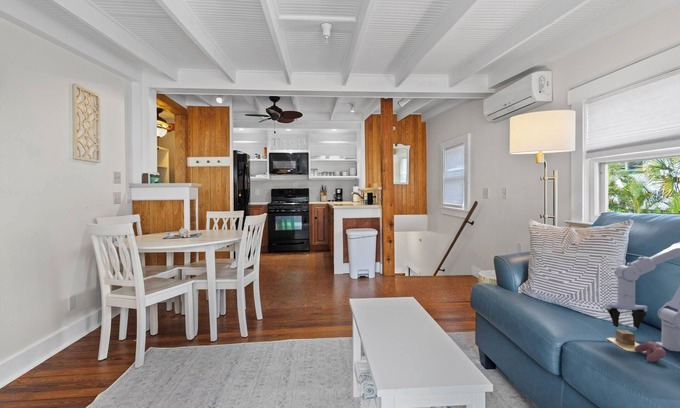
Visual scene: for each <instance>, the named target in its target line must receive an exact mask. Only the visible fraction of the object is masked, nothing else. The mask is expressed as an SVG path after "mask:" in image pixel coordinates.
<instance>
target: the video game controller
mask: <svg viewBox="0 0 680 408" xmlns="http://www.w3.org/2000/svg"><path fill="white" fill-rule="evenodd" d="M639 344H640V345H638V346H636V347H635V351H636V352H635V353H643V352H644V351H646V353H645V355H647V356H646V358H645V359H646V361H647V362H651V363H653V362H657V361H659V360H661V359H664V357H665V356H666V350H665V349H664V347H662V346H660V345H659V344H657V343H656V341H655V342H654V341H650V340H647V341H644V342H643V343H639Z"/></svg>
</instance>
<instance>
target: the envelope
mask: <svg viewBox="0 0 680 408" xmlns="http://www.w3.org/2000/svg"><path fill="white" fill-rule="evenodd" d="M605 339H606V340H608V341H609V342H611V343H612V344H614V345H616V346H617V347H619V348H621V349H622V348H623V349H622V350H624V351H625V350H626V351H625V352H631V353H633V352H634V353H637V352H636V351H635V347H636V346H638V345H640V344H641V343H638V342H636V341H635V345H625V344H621V343H620V342H618V341H616V337H609V338H605ZM642 353H645V354H646V351H644V352H642Z"/></svg>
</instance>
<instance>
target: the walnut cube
mask: <svg viewBox="0 0 680 408" xmlns="http://www.w3.org/2000/svg"><path fill="white" fill-rule="evenodd" d="M615 338H616V341H618V342H620V343H621V344H625V345H635V342H636V334H635V333H633V332H631V331H629V330H626V329H615Z"/></svg>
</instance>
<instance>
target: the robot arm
mask: <svg viewBox="0 0 680 408" xmlns="http://www.w3.org/2000/svg"><path fill="white" fill-rule="evenodd" d="M675 258H680V241H679V242H677V243H673V244H672V245H670V247H667V248H666V249H663V250H662V251H659V252H657V253H656V254H654V255H652V256H650V257H647V256H638V257H637V259H636V260H634V261H631V262H627V263H626V264H624V265H623V264H621V265H618V266H617V267H616V269H615V270H614V275H615V276H616V278H617V302H611V303H609V302H607V303H605V308H606V310H607V312H608V314H609V316H610V318H611V321H612V324H613V326H614V327H615V328H618V327H619V324H620V323H619V321H620V319H619V318H620V314H621V311H619V310H623V311H625V310H627V311H631V313H632V325H633V328H636V329H640V326H641V323H642V320H643V319H644V318H645V317H646V316H647V312H648V306H647V305H641V304H636V281H638V279H639V278H640V276H642V275H645V274H647V273H648V272H651V271H654V270H655V269H656V266H657V265H659V264H662V263H664V262H667V261H670V260H672V259H675ZM657 316H658V318H659V320H661V321H660V322H661V341H655V343H657V344H659V345H660V346H661V347H662V348H663V349H664V348H665V349H666V350H667V351H670V352H671V351H672V352H680V285H679V286H678V287H677V290H676V292H675V294H674V296H673V297H672V299H671V300H670V301H669V300H668V301H667V302H665V303H664V305H663V306H662V307H660V308H659V309H658V311H657Z"/></svg>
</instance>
